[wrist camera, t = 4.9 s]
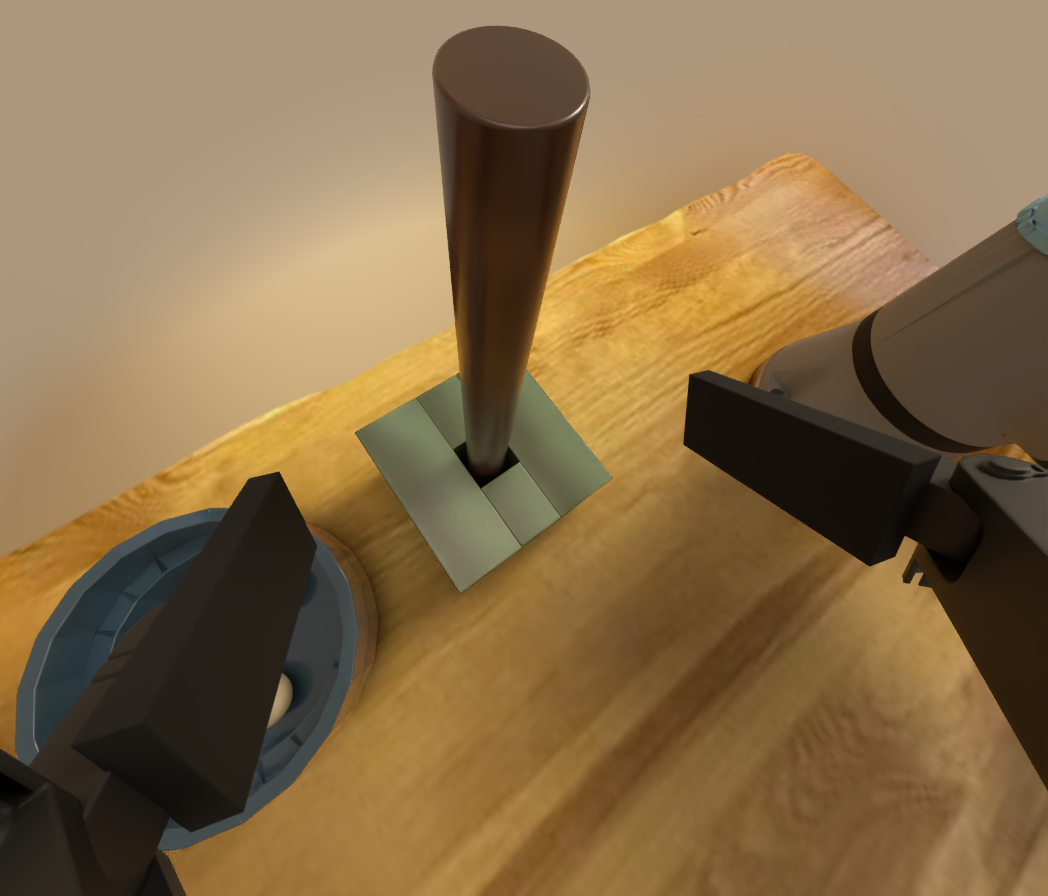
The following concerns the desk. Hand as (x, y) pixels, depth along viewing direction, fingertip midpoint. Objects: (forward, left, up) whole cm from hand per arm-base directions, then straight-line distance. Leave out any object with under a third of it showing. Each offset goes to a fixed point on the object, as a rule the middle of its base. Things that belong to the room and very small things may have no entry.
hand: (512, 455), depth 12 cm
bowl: (+17, -3, -18) cm, 25 cm away
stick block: (-1, -3, -18) cm, 18 cm away
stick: (-1, -3, -18) cm, 18 cm away
